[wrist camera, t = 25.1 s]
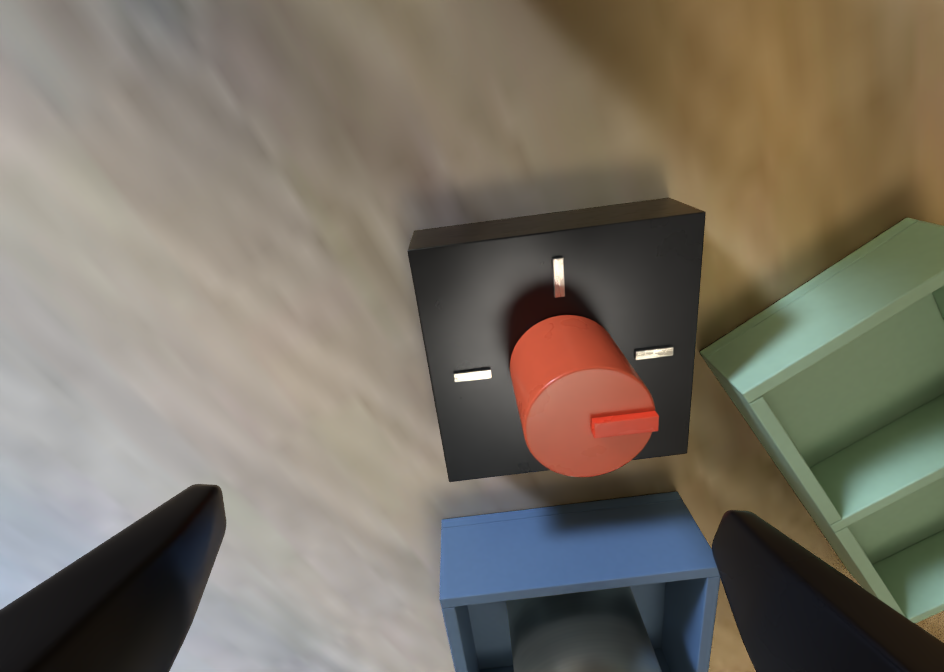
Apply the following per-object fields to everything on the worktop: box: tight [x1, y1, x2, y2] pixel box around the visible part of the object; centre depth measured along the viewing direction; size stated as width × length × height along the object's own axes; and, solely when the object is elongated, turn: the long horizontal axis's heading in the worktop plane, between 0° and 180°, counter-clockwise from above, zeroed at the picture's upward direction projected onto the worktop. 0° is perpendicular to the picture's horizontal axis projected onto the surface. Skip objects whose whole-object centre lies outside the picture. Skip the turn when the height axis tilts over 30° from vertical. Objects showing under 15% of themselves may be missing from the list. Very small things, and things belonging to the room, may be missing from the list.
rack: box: [700, 218, 944, 623], centre depth 22 cm, size 18×9×4 cm, turn 39°
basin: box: [440, 492, 720, 672], centre depth 26 cm, size 12×12×5 cm
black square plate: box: [408, 198, 705, 482], centre depth 20 cm, size 10×10×3 cm
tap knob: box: [510, 315, 659, 477], centre depth 16 cm, size 4×4×4 cm
